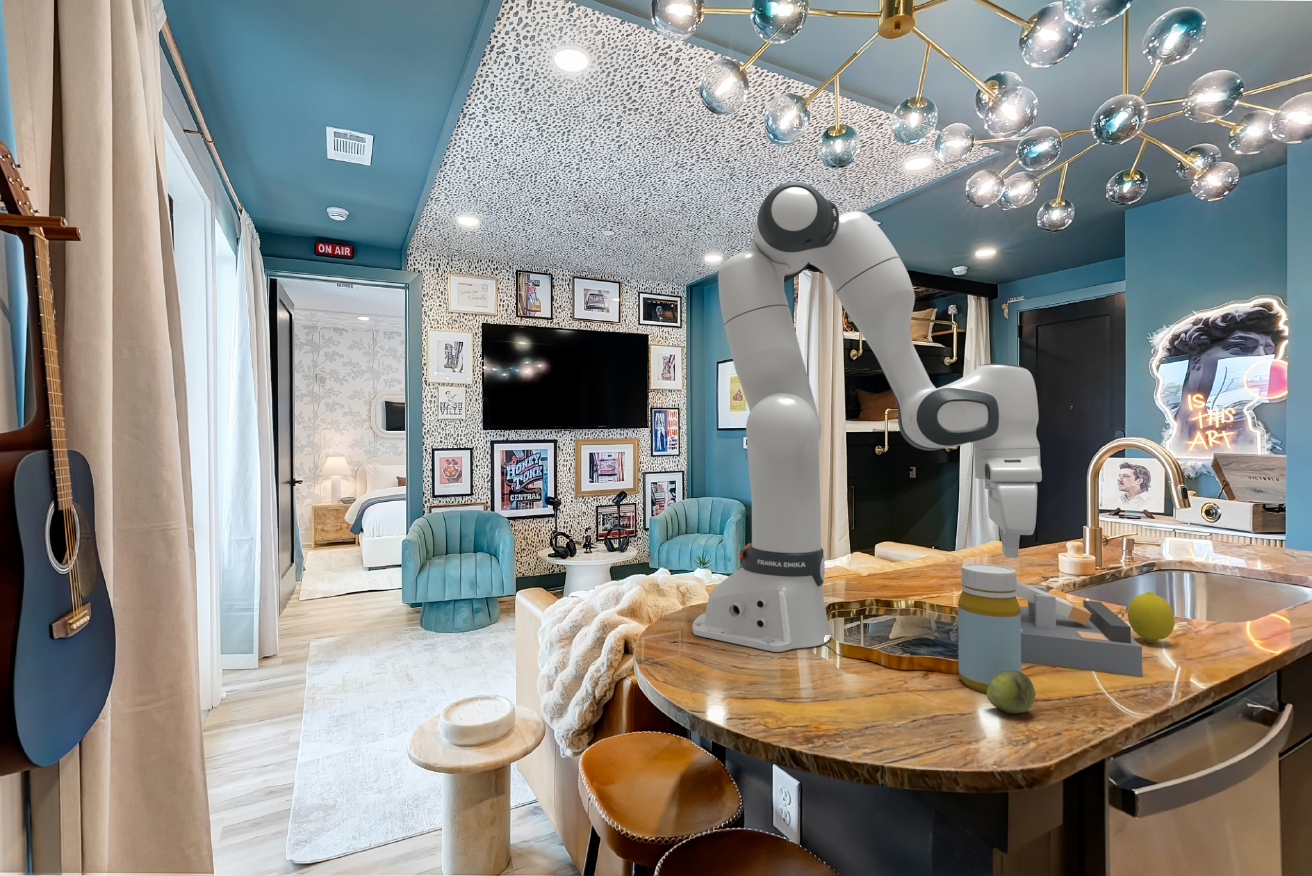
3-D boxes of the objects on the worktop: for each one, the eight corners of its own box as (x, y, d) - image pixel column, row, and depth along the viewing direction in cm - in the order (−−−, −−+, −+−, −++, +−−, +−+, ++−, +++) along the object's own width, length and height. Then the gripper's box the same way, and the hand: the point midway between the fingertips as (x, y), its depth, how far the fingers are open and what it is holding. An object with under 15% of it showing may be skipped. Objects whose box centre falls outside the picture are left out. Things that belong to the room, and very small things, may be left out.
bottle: (1030, 698, 71) (1029, 575, 72) (968, 693, 73) (967, 573, 73) (1008, 676, 78) (1007, 564, 78) (952, 672, 80) (951, 562, 80)
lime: (982, 711, 68) (982, 668, 68) (1000, 700, 71) (1000, 659, 71) (1025, 726, 64) (1025, 680, 64) (1042, 713, 67) (1041, 670, 67)
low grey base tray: (972, 655, 86) (971, 596, 86) (963, 624, 101) (963, 574, 101) (1142, 676, 78) (1141, 612, 78) (1105, 639, 93) (1105, 585, 93)
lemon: (1182, 651, 88) (1181, 597, 88) (1137, 646, 89) (1136, 594, 90) (1163, 639, 93) (1163, 588, 93) (1121, 635, 95) (1121, 586, 95)
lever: (998, 589, 90) (1003, 578, 90) (994, 583, 94) (999, 572, 93) (1086, 626, 85) (1092, 614, 85) (1079, 618, 89) (1084, 607, 89)
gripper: (977, 465, 102) (980, 544, 102) (992, 470, 83) (995, 567, 83) (1019, 464, 100) (1022, 546, 99) (1044, 470, 81) (1048, 570, 81)
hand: (1010, 556), depth 91 cm, fingers closed
